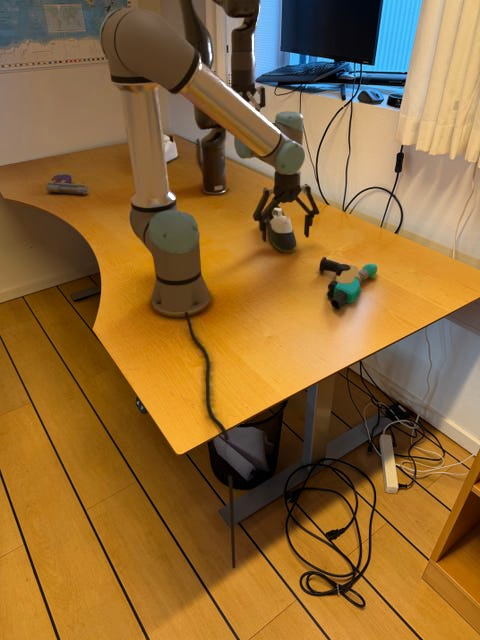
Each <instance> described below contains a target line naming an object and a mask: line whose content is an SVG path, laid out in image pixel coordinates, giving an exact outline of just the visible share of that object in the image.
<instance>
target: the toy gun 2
mask: <svg viewBox="0 0 480 640" xmlns="http://www.w3.org/2000/svg"><path fill="white" fill-rule="evenodd" d="M324 271H327V272H332V273H335V278H334V279H332V280H330V281H329V283H328V284H327V289H328V290H327V292H326V296H327V298H329V299H330V304H331V307H332V308H333V309H334V310H335V311H338V312H339V311H340V310H341V309H342V308H343V307H344V306H345V304H346V303H347V304H353V302H355V301H357V299H358V298H359V297H360V295H361V293H362V288H361V284H362V283H363V282H365V281H366V280H367V279H368V278H369V279H371V278H373V277H374V276H376V274H377V272H378V265H377V264H375V263H367V264H364V266H362V268H361V269H360V270H359V267H358V266H357V265H354V264H353V265H352V264H346V263H340V262H337V261H334V260H332V259H327V257H326V256H323V257H322V258H321V260H320V262H319V268H318V272H320V273H324Z"/></svg>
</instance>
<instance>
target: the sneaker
mask: <svg viewBox="0 0 480 640" xmlns="http://www.w3.org/2000/svg"><path fill="white" fill-rule="evenodd" d="M163 136H164V145H165V154H166V163H168V162H170V161H172V160H175V159H176V158H177V157H178V156H179V155H178V149H177V144H176V140H175V136H174V135H173V134H164V133H163Z"/></svg>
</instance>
